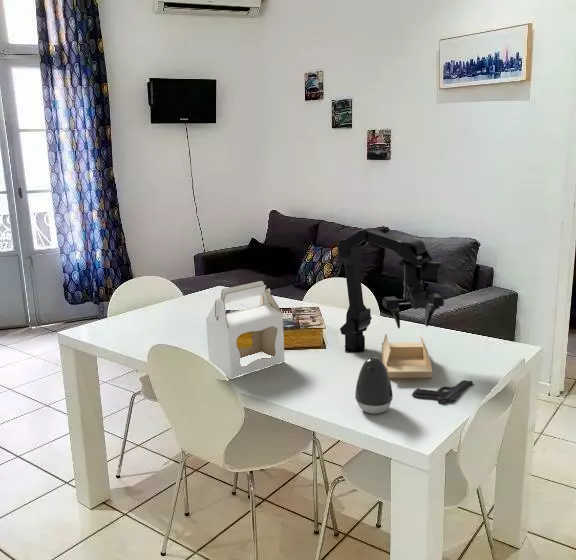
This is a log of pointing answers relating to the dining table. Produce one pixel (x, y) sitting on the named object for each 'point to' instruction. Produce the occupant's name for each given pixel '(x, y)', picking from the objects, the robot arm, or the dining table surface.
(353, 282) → the robot arm
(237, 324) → the gable box
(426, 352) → the flap
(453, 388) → the handgun
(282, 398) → the dining table surface
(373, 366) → the dark grey egg device
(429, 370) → the carton
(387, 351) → the flap
